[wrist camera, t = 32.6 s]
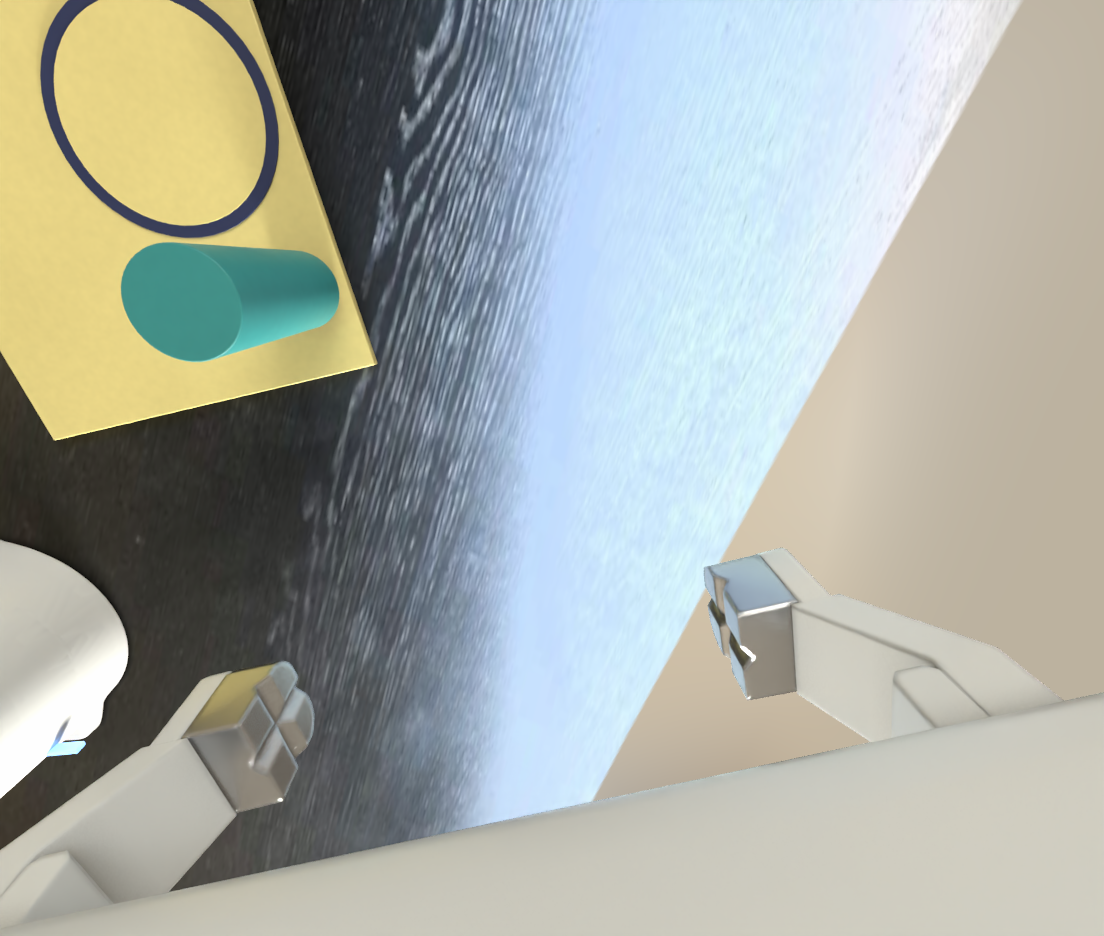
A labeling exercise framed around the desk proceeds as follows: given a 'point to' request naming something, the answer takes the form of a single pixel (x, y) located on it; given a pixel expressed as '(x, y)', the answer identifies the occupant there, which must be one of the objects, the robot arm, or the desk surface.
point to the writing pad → (146, 200)
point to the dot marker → (224, 297)
